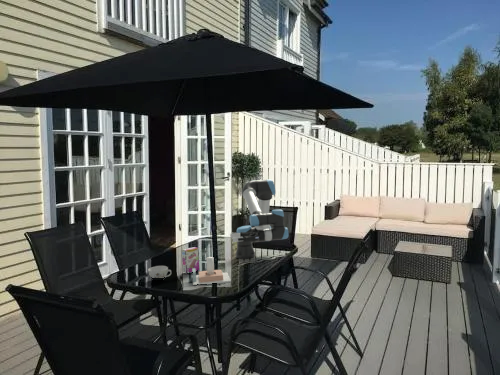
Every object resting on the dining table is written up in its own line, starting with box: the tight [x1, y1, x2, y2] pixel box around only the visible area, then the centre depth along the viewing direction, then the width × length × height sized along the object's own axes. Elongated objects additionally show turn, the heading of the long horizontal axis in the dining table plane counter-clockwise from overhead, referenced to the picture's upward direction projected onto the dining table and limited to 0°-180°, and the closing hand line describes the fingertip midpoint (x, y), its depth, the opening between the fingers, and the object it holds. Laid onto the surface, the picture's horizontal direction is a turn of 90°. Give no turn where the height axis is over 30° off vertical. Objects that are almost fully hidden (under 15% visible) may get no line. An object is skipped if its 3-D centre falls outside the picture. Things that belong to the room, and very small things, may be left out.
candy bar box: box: [181, 246, 200, 273], centre depth 290 cm, size 11×5×16 cm, turn 134°
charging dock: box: [192, 268, 232, 286], centre depth 269 cm, size 20×23×7 cm
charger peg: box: [205, 256, 215, 275], centre depth 269 cm, size 4×4×13 cm
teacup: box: [147, 265, 172, 279], centre depth 274 cm, size 15×12×8 cm
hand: (231, 237), depth 270 cm, fingers open, 13 cm apart
